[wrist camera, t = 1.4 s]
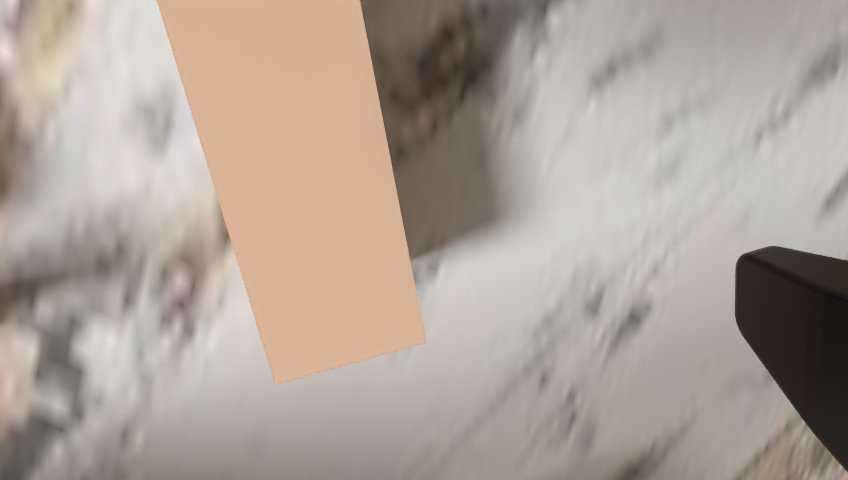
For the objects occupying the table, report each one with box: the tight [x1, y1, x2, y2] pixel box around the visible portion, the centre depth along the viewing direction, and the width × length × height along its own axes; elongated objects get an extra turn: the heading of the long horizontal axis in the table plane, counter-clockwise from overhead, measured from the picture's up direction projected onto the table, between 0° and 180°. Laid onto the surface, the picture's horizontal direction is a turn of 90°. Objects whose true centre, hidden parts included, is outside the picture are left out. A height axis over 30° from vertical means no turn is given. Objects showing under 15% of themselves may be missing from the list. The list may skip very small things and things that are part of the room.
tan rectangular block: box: [157, 0, 426, 385], centre depth 17 cm, size 10×4×4 cm, turn 10°
